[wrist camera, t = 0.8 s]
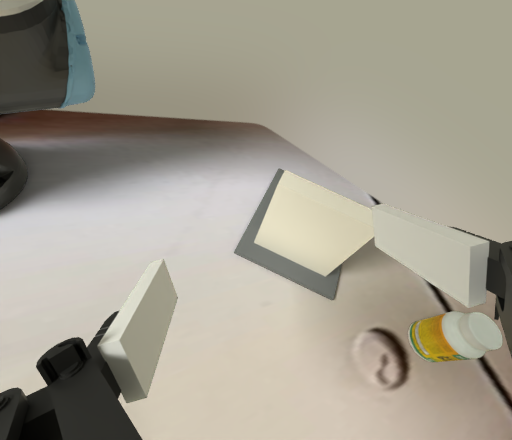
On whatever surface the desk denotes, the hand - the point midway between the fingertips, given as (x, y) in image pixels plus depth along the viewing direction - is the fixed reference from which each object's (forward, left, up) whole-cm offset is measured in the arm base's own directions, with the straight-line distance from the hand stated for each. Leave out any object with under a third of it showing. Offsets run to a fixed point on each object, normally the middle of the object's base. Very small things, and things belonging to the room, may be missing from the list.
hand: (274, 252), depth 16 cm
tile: (-3, +13, -20) cm, 24 cm away
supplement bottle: (+18, +21, -21) cm, 35 cm away
